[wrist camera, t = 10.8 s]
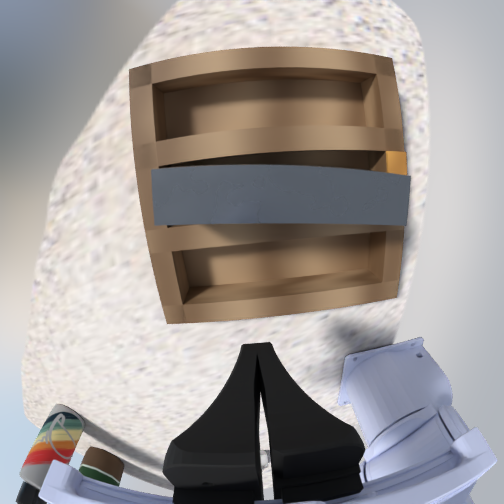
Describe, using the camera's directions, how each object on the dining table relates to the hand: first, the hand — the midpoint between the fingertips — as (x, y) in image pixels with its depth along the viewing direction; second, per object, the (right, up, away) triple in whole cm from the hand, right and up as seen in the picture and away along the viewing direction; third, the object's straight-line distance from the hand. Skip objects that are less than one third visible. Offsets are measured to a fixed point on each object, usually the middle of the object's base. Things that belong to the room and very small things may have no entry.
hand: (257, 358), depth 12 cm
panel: (+1, +10, +6) cm, 11 cm away
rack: (+1, +10, +6) cm, 12 cm away
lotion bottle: (-28, -20, +16) cm, 38 cm away
